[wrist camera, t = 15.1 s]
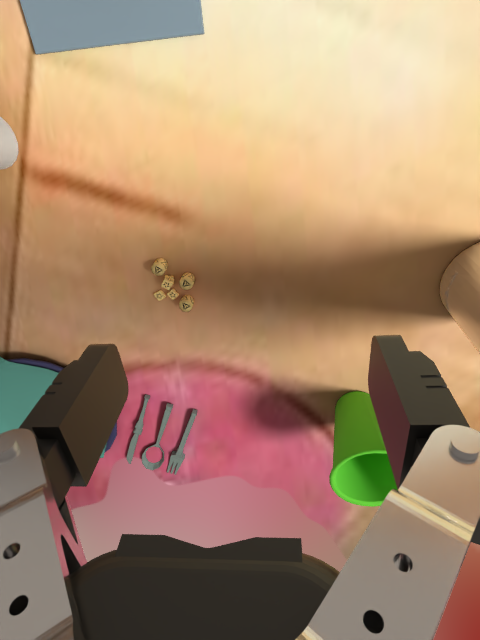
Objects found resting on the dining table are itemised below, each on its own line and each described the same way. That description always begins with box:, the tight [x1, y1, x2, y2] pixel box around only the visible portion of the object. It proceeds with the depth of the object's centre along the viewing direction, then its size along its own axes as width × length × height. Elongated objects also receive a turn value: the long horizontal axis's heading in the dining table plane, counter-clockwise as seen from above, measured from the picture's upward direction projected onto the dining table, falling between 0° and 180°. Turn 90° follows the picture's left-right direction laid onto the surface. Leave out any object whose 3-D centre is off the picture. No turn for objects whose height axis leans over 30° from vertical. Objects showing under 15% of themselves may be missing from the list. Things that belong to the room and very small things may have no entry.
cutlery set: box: [0, 356, 197, 475], centre depth 55 cm, size 20×30×2 cm, turn 72°
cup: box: [329, 391, 398, 506], centre depth 45 cm, size 9×9×11 cm
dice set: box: [151, 258, 195, 312], centre depth 43 cm, size 5×5×2 cm
